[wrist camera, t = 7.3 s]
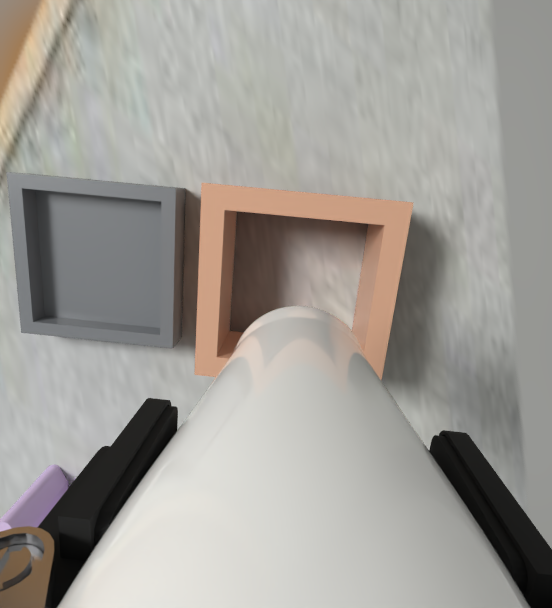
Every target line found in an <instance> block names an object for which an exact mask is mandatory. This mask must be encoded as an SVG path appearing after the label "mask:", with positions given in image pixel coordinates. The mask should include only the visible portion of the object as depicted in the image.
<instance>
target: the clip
mask: <svg viewBox="0 0 552 608" xmlns="http://www.w3.org/2000/svg"><path fill="white" fill-rule="evenodd" d="M67 489H68V482H67V480H66V478H65V476H64V474H63V472H62V470H61V468H60V467H59V466H58V465H50V466H48V467H47V468H46V470H45V471H44V472H43V473H42V474H41V475H40V476H39V477H38V478H37V479H36V480H35V482H34V483H33V484H32V485H31V486H30V487H29V488H28V489H27V490H26V491H25V493H24V494H23V495H22V496H21V497H20V498H19V499H18V500H17V501H16V502H15V504H14V505H13V506H12V507H11V508H10V509H9V510H8V511H7V512H6V513H5V514H4V516H3V517H2V518H1V519H0V532H1V531H5V530H8V529H12V528H15V527H26V526H31V527H38V526H39V525H40V523H41V522H42V521H43V520H44V518H45V517H46V516H47V515H48V513H49V512H50V511H51V510H52V508H53V507H54V506H55V505H56V503H57V502H58V501H59V499H60V498H61V497H62V496H63V494H64V493H65V492H66V491H67Z"/></svg>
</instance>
